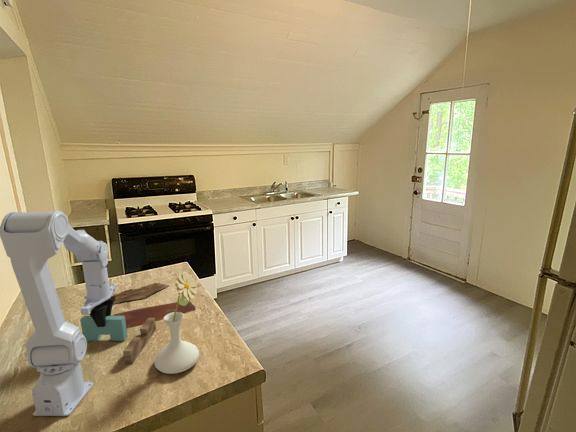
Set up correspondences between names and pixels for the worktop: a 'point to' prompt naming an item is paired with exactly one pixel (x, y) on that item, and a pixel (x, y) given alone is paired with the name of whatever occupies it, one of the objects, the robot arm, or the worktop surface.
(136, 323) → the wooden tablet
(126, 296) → the wooden fragment
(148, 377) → the worktop surface
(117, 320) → the teal arch block
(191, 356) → the flower in vase
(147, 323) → the brown wooden bar
